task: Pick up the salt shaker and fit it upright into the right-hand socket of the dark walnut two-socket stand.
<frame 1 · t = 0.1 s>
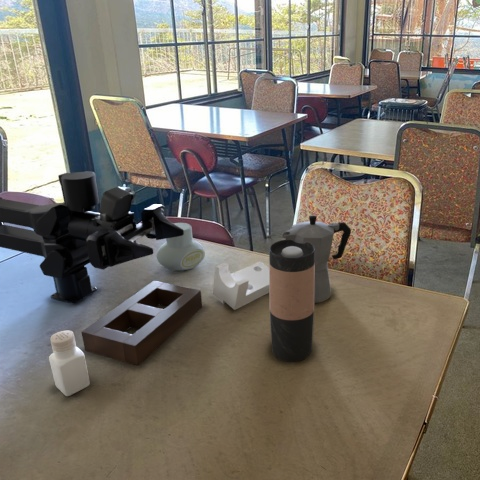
hand: (168, 241, 87), 17 cm above the table, tool horizontal, fingers open, 9 cm apart
salt shaker: (73, 387, 76), on the table
coffeepot: (315, 292, 105), on the table
stand: (148, 327, 91), on the table
air freshener: (182, 266, 115), on the table
travel mug: (291, 350, 86), on the table
bracket: (249, 294, 104), on the table
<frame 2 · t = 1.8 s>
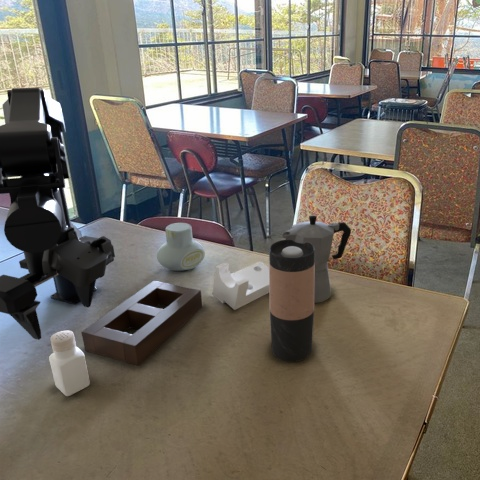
hand: (63, 321, 71), 12 cm above the table, tool pointing down, fingers open, 9 cm apart
nothing on the table moved.
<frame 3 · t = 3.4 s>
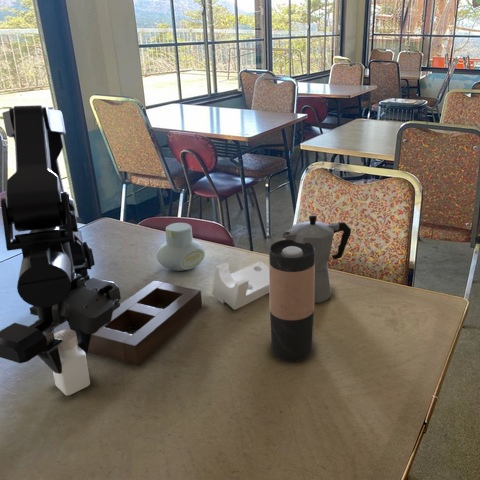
hand: (71, 363, 74), 5 cm above the table, tool pointing down, fingers closed on salt shaker, 5 cm apart
salt shaker: (73, 387, 76), on the table, touching gripper
everything else where it was.
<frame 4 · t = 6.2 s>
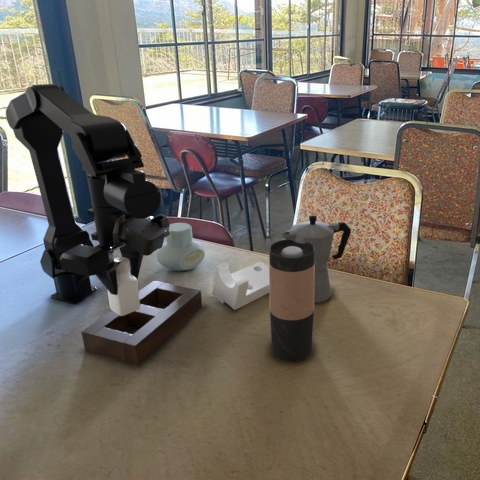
hand: (124, 287, 83), 11 cm above the table, tool pointing down, fingers closed on salt shaker, 5 cm apart
salt shaker: (125, 310, 85), point 6 cm above the table, touching gripper
everything else where it was.
when the fingers open (5 cm above the table, at t = 9.1 s): salt shaker stays where it is, resting in stand.
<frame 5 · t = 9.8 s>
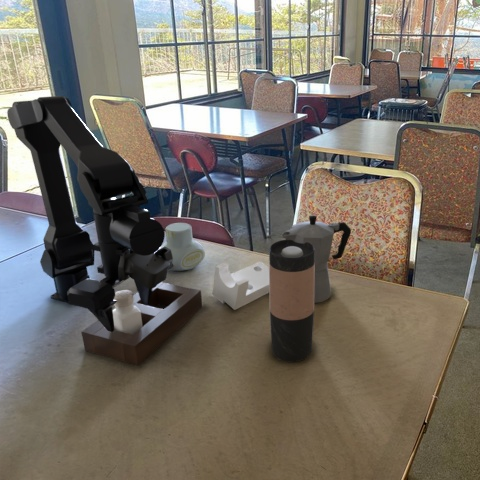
hand: (129, 317, 85), 5 cm above the table, tool pointing down, fingers open, 9 cm apart
salt shaker: (130, 340, 87), resting in stand
everything else where it was.
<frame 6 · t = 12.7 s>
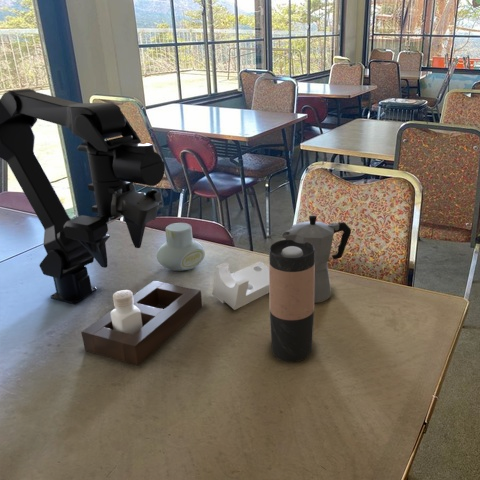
hand: (121, 257, 91), 12 cm above the table, tool pointing down, fingers open, 9 cm apart
nothing on the table moved.
at the end: salt shaker 0.6 cm from the target spot in the stand, point 0.0 cm above the stand's base; salt shaker tilted 0° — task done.
